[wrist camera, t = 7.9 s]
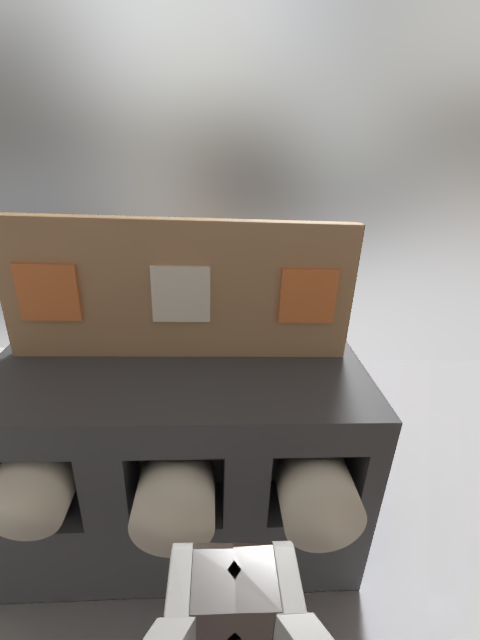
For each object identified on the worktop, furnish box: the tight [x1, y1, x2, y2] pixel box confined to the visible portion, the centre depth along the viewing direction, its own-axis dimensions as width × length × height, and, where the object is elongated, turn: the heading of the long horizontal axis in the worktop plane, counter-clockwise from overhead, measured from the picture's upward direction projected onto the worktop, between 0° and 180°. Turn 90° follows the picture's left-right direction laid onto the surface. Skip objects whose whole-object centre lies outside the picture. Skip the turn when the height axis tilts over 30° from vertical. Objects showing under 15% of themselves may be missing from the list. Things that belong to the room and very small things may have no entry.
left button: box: [0, 462, 76, 541], centre depth 22 cm, size 4×4×4 cm
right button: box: [275, 457, 367, 553], centre depth 22 cm, size 4×4×4 cm
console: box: [0, 212, 402, 604], centre depth 25 cm, size 24×10×23 cm, turn 93°
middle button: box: [128, 459, 215, 558], centre depth 21 cm, size 4×4×4 cm
